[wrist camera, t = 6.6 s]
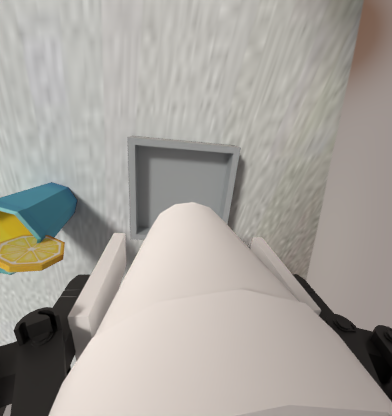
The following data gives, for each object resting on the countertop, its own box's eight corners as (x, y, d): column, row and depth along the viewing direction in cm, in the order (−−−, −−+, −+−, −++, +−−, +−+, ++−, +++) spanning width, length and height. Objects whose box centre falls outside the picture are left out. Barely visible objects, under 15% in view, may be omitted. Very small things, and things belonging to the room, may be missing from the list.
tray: (132, 135, 26) (127, 137, 23) (233, 145, 27) (240, 147, 25) (134, 229, 31) (130, 239, 28) (220, 231, 32) (224, 241, 30)
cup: (6, 228, 28) (-152, 325, 15) (-17, 175, 25) (-241, 233, 12) (107, 223, 30) (50, 307, 16) (97, 172, 27) (17, 221, 13)
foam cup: (229, 283, 19) (325, 544, 7) (130, 280, 18) (42, 600, 6) (253, 188, 16) (514, 388, 4) (132, 175, 14) (-76, 430, 2)
